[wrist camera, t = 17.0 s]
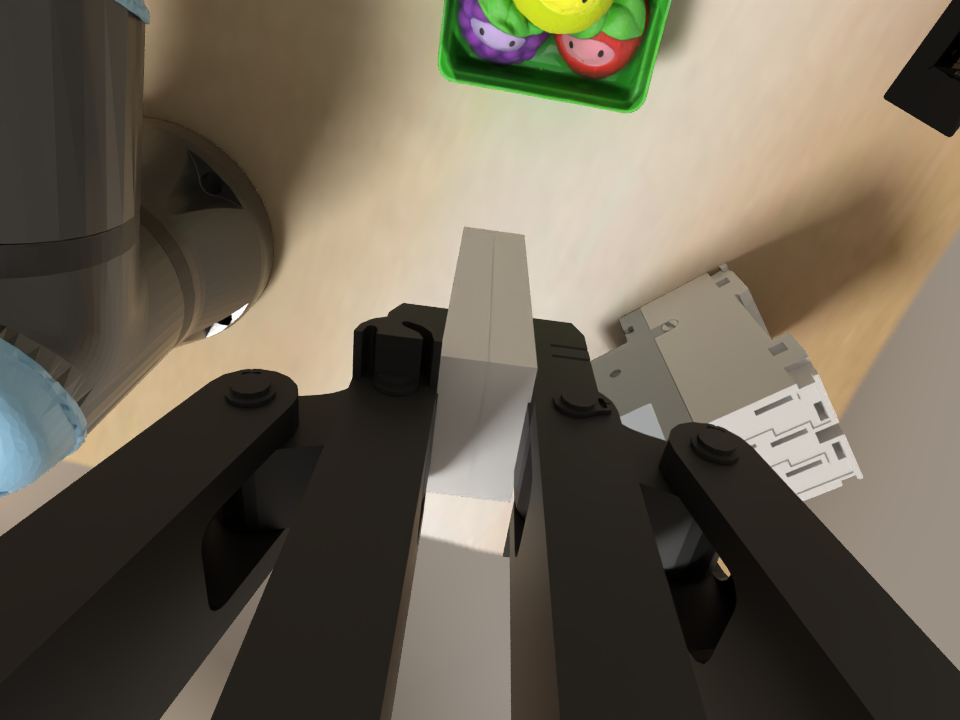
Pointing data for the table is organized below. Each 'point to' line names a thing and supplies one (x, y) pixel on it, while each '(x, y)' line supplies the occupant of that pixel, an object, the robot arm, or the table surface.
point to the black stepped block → (933, 76)
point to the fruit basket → (555, 48)
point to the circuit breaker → (726, 381)
